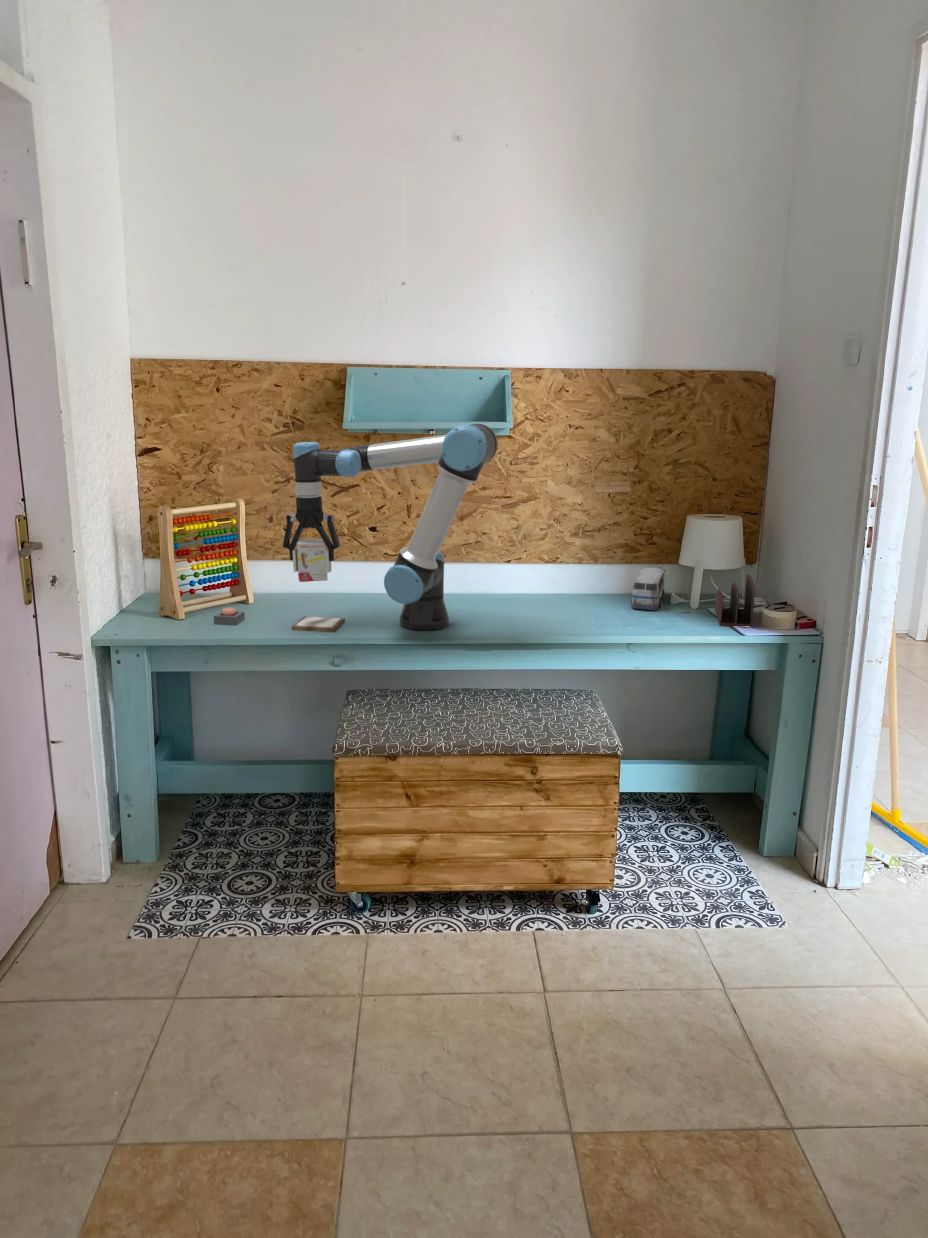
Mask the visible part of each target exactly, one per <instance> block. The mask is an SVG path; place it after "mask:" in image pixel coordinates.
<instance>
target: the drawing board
mask: <svg viewBox="0 0 928 1238" xmlns="http://www.w3.org/2000/svg"><path fill="white" fill-rule="evenodd" d="M345 622H346V618H342V617H325V616H324V617H322V616H308V615H307V616H303V617H301V619H299V620H298V621H297V622H295V623H294V624H293V625H292V626H291V630H293V631H309V632H326V633H327V632H328V633H335V632H336V631H337V630H338V629H339V628H340V627H341V626H342V625H343V624H345Z"/></svg>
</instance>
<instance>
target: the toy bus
mask: <svg viewBox="0 0 928 1238" xmlns="http://www.w3.org/2000/svg"><path fill="white" fill-rule="evenodd" d="M665 572H666V570H665V569H662V568H660V567H659V568H657V567H642V568H641V569H640V572H638V575H637V577H636V579H635V580H634V582H633V586H632V591H631V599H630V607H631V608H632V609H639V610H652V611H655V610H658V609H661V608H662V602H664V600H665V592H666V591H665Z"/></svg>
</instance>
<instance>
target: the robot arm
mask: <svg viewBox="0 0 928 1238" xmlns="http://www.w3.org/2000/svg"><path fill="white" fill-rule="evenodd" d="M498 443H499V442H498V437H497V435H496V433H495V432H494V430H493V429H492V428H491V427H489V426H488V425H486V424H483V423H472V424H461V425H458V426H456V427H455V428H452V429H451V430H450V431H449V432H448V433H447V434H442V435H441V434H440V435H434V436H432V435H431V436H427V437H420V438H419V437H418V438H411V439H403V440H396V441H388V442H381V443H379V442H378V443H374V444H367V445H355V446H351V447H346V448H339V449H321V447H320V444H319V442H316V441H315V442H314V441H301V442H299V441H298V442H296V443H294V445H293V458H292V460H293V469H294V471H293V472H294V489H295V496H296V497H295V508H296V513H295V514H291V513H288V514H287V515H286V516H285V518H286V526H285V532H284V536H283V540H282V541H283V542H282V548H283V549H284V548H285V549H287V550H288V552H289V560H290V561H292V563H293V564H292V566H293V568H292V569H293V573H298V558H297V541H298V540H300V537H301V536H302V533H303V531H304V530H305V529H309V528H310V529H316V531H317V532H318V534H319V536H320V539H323V541H324V543H325V545H326V570H327V574H328V573H331V572H332V562H333V561H334V560H335V549H339V548H340V547H341V544H340V541H339V537H338V534H337V531H336V527H335V523H334V514H324V511H323V498H322V496H321V495H322V493H323V492H322V477H323V476H324V477H325V476H326V477H343V478H348V477H356V476H358V475H359V473H361V472H372V471H374V470H375V471H376V470H386V469H392V468H393V469H394V468H403V467H410V466H417V465H418V466H420V465H427V464H435V463H437V466H438V468H439V471H440V472H439V474H438V476H437V479H436V481H435V483H434V485H433V487H432V490H431V493H429V497H428V499H427V501H426V504H425V506H424V509H423V511H422V514H421V515H420V517H419V519H418V522H417V525H416V527H415V530H414V531H413V533H412V536H411V539H410V541H409V543H408V545H407V546H406V547H404V548H401V549H400V551H399V553H398V554H397V558H396V559H395V562H394V564H393V566H391V567H390V568H389V569H388V570H387V571H386V573H385V574H384V578H383V587H384V589H385V591H386V593H387V595H388V597H390V599H392V600H393V601H394V602H396V603H398V604H402V605H403V606H402V609H401V612H400V616H399V625H400V627H402V628H405V629H409V630H413V629H415V631H434V630H433V629H436V630H440V629H439V628H441V629H444V628H443V627H445V628H446V626H447V627H448V626H449V625H450V616H449V613H448V610H447V607H446V603H445V599H444V595H445V594H444V591H445V590H444V587H445V583H444V582H445V581H444V580H445V556H444V553H443V552H442V551H440V549H441V546H442V544H443V542H444V540H445V537H446V536H447V534H448V531H449V529H450V526H451V525H452V522H453V520H454V517H455V515H456V513H457V512H458V509H459V507H460V504H462V503H461V502H462V500H463V498H464V495H465V493H466V491H467V488H468V486H469V485H471V484H474V483H476V482H477V480H478V478H479V476H480V474H481V471H482V469H483V467H484V465H486V464H488V463H489V462H490V461H491V460H493V458H494V457H495V456H496V454H497V451H498V445H499V444H498ZM323 520H324V521H325V523H326V524H327V528H328V532H329V535H330V537H329V535H328V534H327V531H326V530H325V528H324V525H323V523H322V521H323ZM295 521H297V522H298V523H299V524H298V526H297V529H296V531H295V533H294V535H293V537H292V540H291V536H292V532H293V526H294V522H295Z"/></svg>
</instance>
